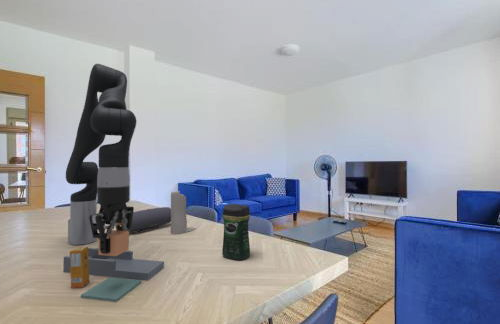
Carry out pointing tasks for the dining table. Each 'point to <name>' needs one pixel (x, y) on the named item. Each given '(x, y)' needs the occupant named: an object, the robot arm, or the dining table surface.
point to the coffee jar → (236, 231)
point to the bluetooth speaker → (150, 219)
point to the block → (117, 243)
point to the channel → (119, 265)
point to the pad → (111, 289)
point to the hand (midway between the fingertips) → (113, 249)
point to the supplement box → (79, 267)
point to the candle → (179, 214)
